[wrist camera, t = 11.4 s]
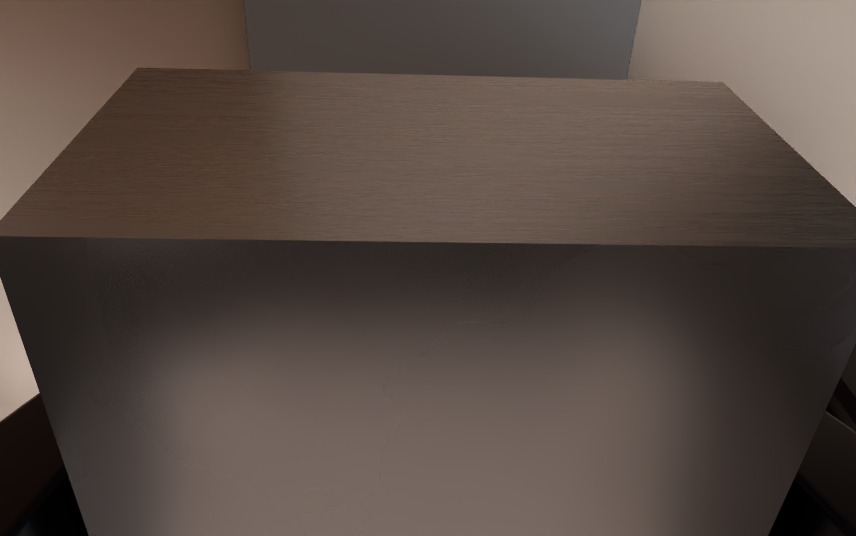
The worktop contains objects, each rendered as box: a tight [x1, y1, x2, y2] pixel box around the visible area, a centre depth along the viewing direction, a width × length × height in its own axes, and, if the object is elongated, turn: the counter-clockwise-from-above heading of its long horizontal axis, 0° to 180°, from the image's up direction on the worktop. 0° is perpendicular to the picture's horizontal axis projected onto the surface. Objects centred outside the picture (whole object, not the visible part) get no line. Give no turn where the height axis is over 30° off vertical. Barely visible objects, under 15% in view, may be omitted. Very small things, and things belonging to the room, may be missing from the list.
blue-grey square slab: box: [244, 0, 641, 80], centre depth 15 cm, size 7×7×1 cm
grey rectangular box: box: [0, 68, 856, 536], centre depth 8 cm, size 7×6×3 cm
